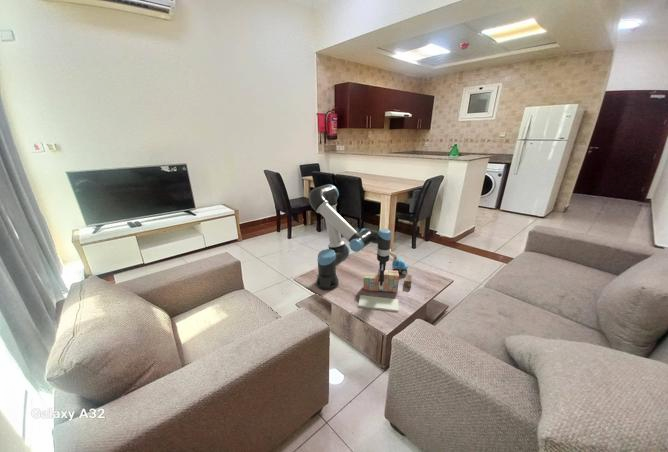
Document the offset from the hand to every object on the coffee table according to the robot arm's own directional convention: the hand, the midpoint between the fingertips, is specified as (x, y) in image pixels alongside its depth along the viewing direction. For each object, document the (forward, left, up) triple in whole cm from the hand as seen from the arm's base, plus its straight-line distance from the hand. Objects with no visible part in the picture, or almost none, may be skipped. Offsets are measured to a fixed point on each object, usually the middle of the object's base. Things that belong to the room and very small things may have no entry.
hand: (381, 285), depth 165 cm
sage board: (-1, -15, -3) cm, 15 cm away
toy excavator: (+9, +25, -3) cm, 27 cm away
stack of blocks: (-1, 0, -2) cm, 2 cm away
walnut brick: (+17, +10, -3) cm, 20 cm away
